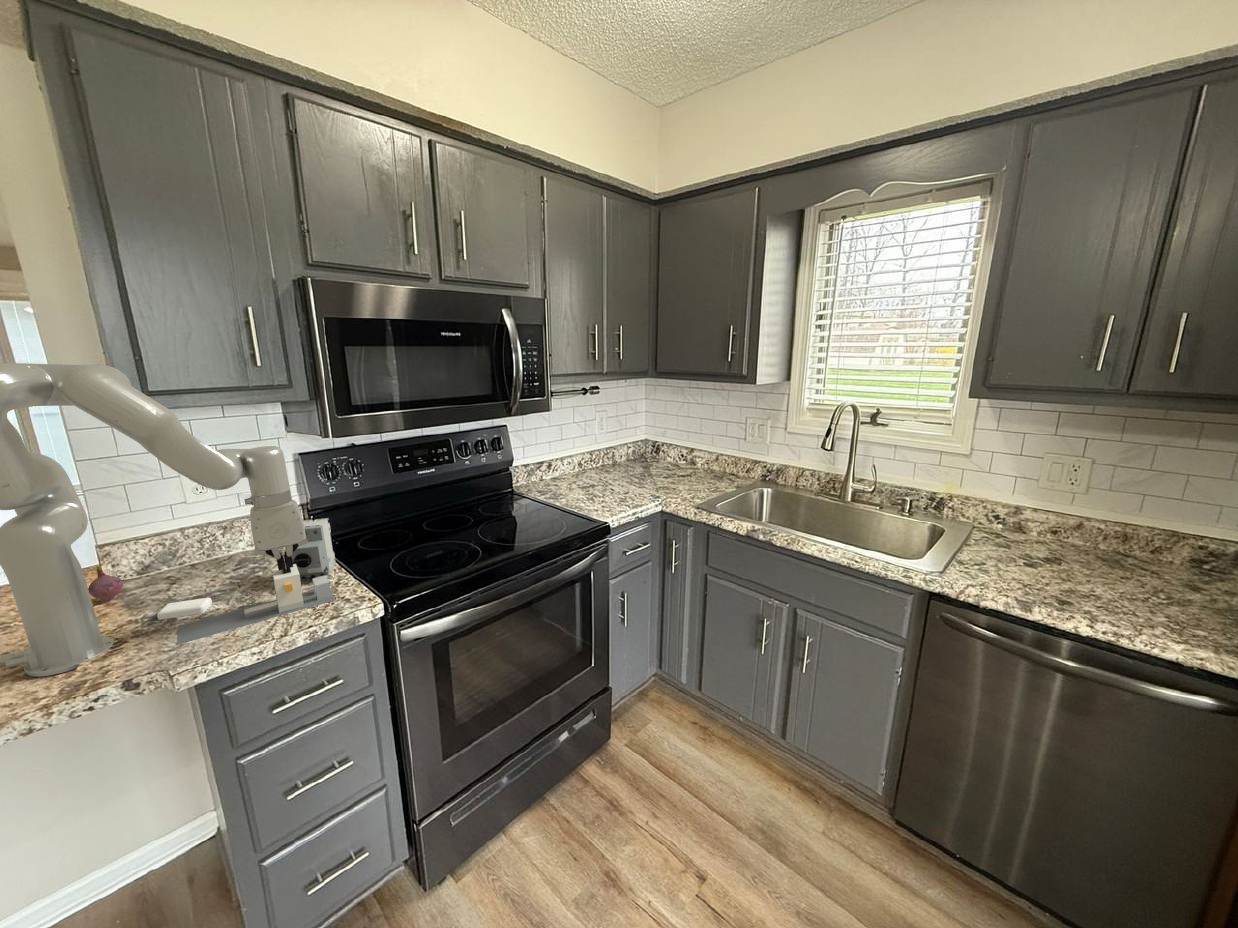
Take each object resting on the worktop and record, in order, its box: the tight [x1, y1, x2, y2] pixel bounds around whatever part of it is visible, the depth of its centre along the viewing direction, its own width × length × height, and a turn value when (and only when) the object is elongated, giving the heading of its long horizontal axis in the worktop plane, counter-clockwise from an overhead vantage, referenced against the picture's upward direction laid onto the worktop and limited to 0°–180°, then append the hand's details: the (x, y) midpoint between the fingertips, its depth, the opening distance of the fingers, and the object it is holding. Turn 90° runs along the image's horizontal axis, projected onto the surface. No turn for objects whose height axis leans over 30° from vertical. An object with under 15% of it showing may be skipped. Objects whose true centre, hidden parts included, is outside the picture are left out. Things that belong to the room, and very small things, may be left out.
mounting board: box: [176, 588, 336, 646], centre depth 118 cm, size 30×10×1 cm, turn 129°
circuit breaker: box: [292, 517, 336, 579], centre depth 136 cm, size 8×14×15 cm, turn 16°
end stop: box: [312, 575, 332, 600], centre depth 125 cm, size 3×5×4 cm, turn 39°
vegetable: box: [87, 564, 124, 602], centre depth 125 cm, size 6×6×10 cm
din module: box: [271, 564, 304, 613], centre depth 120 cm, size 5×9×8 cm, turn 38°
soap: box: [156, 597, 213, 620], centre depth 119 cm, size 9×6×3 cm, turn 109°
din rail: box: [244, 591, 317, 618], centre depth 120 cm, size 15×2×1 cm, turn 129°
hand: (286, 571), depth 120 cm, fingers closed
